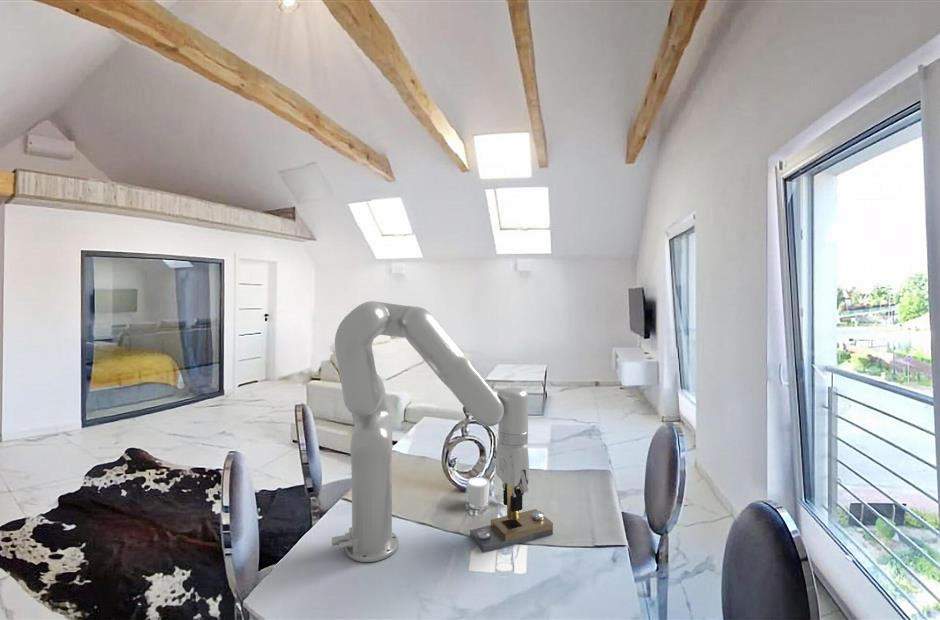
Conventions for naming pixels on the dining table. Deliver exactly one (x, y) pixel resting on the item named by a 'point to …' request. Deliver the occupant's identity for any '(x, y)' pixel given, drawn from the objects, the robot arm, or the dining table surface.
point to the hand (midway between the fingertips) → (512, 506)
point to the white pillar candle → (478, 491)
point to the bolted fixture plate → (512, 530)
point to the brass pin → (510, 514)
